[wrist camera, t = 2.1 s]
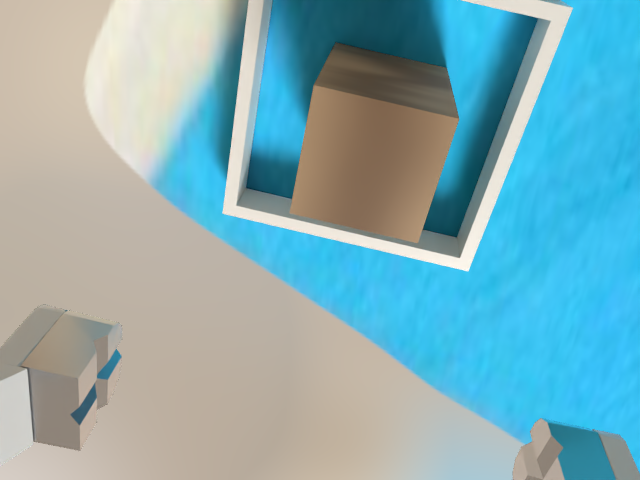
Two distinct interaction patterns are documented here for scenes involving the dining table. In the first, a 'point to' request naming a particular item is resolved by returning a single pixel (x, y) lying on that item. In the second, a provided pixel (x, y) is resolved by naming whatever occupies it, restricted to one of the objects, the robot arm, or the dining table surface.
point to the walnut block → (375, 142)
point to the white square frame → (461, 249)
